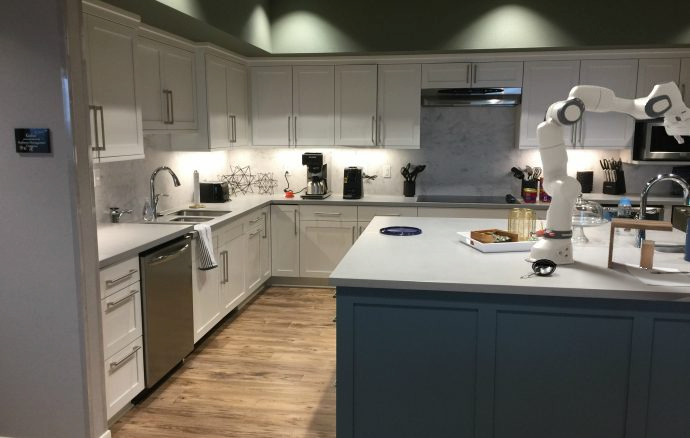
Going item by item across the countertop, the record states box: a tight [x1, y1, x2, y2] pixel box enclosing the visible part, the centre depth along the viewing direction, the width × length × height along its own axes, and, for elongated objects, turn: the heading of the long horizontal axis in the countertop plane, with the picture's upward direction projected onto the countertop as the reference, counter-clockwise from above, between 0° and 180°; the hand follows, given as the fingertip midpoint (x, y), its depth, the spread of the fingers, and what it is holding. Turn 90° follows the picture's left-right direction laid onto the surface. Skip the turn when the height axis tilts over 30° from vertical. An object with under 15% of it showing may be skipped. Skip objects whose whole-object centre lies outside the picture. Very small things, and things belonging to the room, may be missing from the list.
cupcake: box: [535, 220, 544, 237], centre depth 300 cm, size 9×8×12 cm
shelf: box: [607, 217, 674, 269], centre depth 246 cm, size 15×23×20 cm, turn 64°
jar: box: [639, 239, 656, 270], centre depth 246 cm, size 5×5×12 cm
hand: (688, 143), depth 255 cm, fingers open, 8 cm apart
